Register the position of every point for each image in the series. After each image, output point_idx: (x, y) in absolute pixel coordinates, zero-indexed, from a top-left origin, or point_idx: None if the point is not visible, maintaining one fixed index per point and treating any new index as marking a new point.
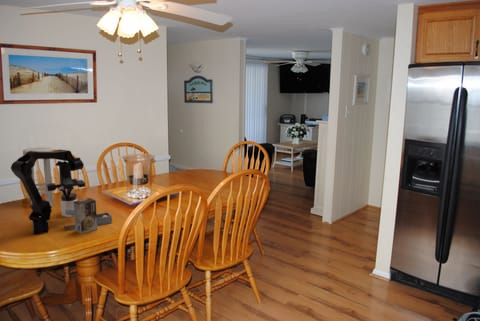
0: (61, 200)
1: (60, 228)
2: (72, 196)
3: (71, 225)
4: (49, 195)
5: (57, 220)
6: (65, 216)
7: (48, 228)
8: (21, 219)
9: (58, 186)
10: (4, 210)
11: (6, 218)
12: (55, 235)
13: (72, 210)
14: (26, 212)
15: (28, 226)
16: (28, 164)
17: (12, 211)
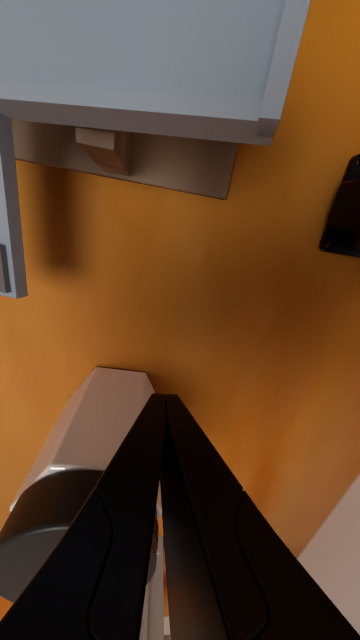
0: (158, 509)
1: (255, 186)
2: (43, 526)
3: (180, 173)
4: (158, 611)
5: (206, 351)
6: (150, 383)
7: (350, 180)
8: (319, 447)
9: None
10: (305, 547)
11: (348, 480)
12: (357, 30)
13: (174, 94)
14: (263, 507)
15: (354, 346)
16: None
17: (293, 531)
